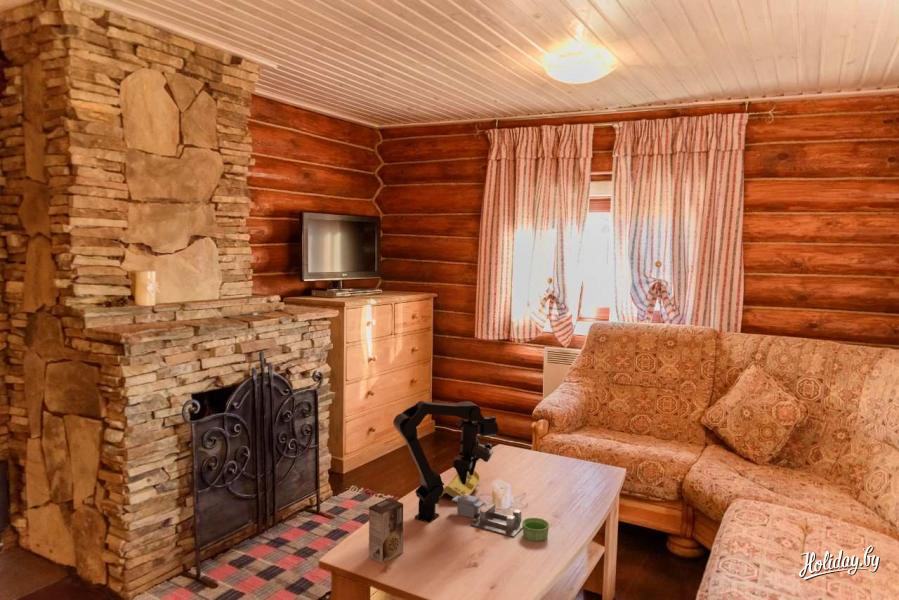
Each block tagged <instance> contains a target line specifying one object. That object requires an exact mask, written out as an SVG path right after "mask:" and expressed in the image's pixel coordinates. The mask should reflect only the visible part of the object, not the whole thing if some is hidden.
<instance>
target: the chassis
mask: <svg viewBox="0 0 899 600" xmlns="http://www.w3.org/2000/svg"><path fill="white" fill-rule="evenodd" d="M479 513H480V516H479V517H476V518H475V520H474V521H473V522H471V523H470V526H472V527H475V528H479V529H482V530H485V531H489V532H493V533H497V534H500V535H503V536H507V537H510V538H515V537H516V536H517V535H518V533H519V532H520V531H521V530H523V526H522V521H523V520H525V519H526V518H524V517H522V510H521V509H518V508H517V509H514V511H512V514H509V513H506V512H501V511H497V510H496V503H493V502H489V503H487V504H486V505H485V506H484V507H483V508H481V510H479Z"/></svg>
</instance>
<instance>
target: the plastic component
mask: <svg viewBox="0 0 899 600" xmlns="http://www.w3.org/2000/svg"><path fill="white" fill-rule="evenodd" d="M480 482H481V475H480V474H479V472H478V471H477V470H475V469H474V473H473V475H472V476H471V475H470V474H469V471H468V474H467V479H466V484H465V485H464V484H462V482H461V480H460V478H459V475H458V473H457V472H456V475H455V476H453V478H452V479H451V481H450V482H449V483H448V484H447V485H445V487H444V491H443V493H442V495H441V496H440V498H442V497H443V496H444V495H445V494H448V495H449V496H450V497H452V499H453V498H455V497H456V496H461V495H462V494H464V493H466V494H468V495H470V496H472V494H473V493H474V492H475V489H476V488H477V486H478V485H479V483H480Z"/></svg>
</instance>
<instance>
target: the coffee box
mask: <svg viewBox="0 0 899 600" xmlns="http://www.w3.org/2000/svg"><path fill="white" fill-rule="evenodd" d="M403 553H404V503H403V502H400V501H398V500H396V499H393V498H391V497H387V498H386V499H384V500H382V501H378V502H377V503H375V504H373V505H371V506H369V507H368V558H370V559H372V560H374V561H376V562H378V563H380V564H382V565H383V564H385V563H387V562H388V561H390V560H392V559H394V558H396V557H397V556H399V555H401V554H403Z"/></svg>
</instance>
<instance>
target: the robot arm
mask: <svg viewBox="0 0 899 600" xmlns="http://www.w3.org/2000/svg"><path fill="white" fill-rule="evenodd" d="M427 415H433V416H446V417H447V416H449V417H457V418H460V419H459V420H458V421H457V422H455V423H456V424H455V425H457V426H458V427H460V428H461V439H460V440H459V445H460V450H459V454H458V455H459V456H457V457H456V458H455V459H454V460H453V461H452V467H453V468H454V470H455V471H456V474H457V473H458V475H459V478H460V480H461V482H462V484H464V485H465V484H466V479H467V474H468V471H469V474H470V475H471V476H472V475H473V473H474V470H475V469H476V466H477V462H478V461H479V460H482V461H484V462H486V463H488V462H489V461H490V460H491V457H492V454H493V453H494V449H493V445H492V444H491V443H489V442H488V443H487V444H481V443H480V440H479V438H478V436H480V437H490V436H497V434H498V433H499V426H498V425H499V424H498V421H497V420H496V419H497V418H496V416H494V415H492V416H486V417H485V416H484V415H483V414H482V410H481V407H480V406H478V405H477V404H475V403H473V402H472V401H468V400H467V401H466V400H465V401H459V402H457V403H446V402H435V401H434V402H433V401H432V402H431V401H424V400H420V401H418V402H417V403H415V404H414V405H412V406H410V407H408V408H406V409H405V410H403V411H402V412H401V413H398V414H397V415H396V416H395V417H394V419H393V421H392V422H393V427H394V428H395V429H396V430H397V432H398V433H399V435H400V436H401V437H402V439H404V441H405V443H406V446H407V448H408V450H409V452H410V454H411V457H412V458H413V461H414V463H415V466H416V467H417V470H418V472H419V475H420V476H419V480H420V485H419V487H417V488H416V489H415V492H414V493H415V496H416V497H417V498H418V511H417V512H418V513H417V514H416V515H414V518H415V519H417V520H421V521H424V522H427V523H430V522H432V521H434V520H435V519H436V518H438V517H439V516H440V513H438V512H436V511H437V510H436V509H437V508H436V506H437V505H438V504H439V501H440V499H441V497H440V496H441V495H442V493H443V491H444V488H445V487H444V486H445V483H444V482H443V480H442V476H441V475H440V473H438V472H437V471H436V470H435V469H432V467H431V465H430V463H429V461H428V459H427V456H426V454H425V452H424V449H423V448H422V445H421V443H420V441H419V439H418V428H417V427H418V426H419V425H421V423H422V421H424V419H425V417H426V416H427Z"/></svg>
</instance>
